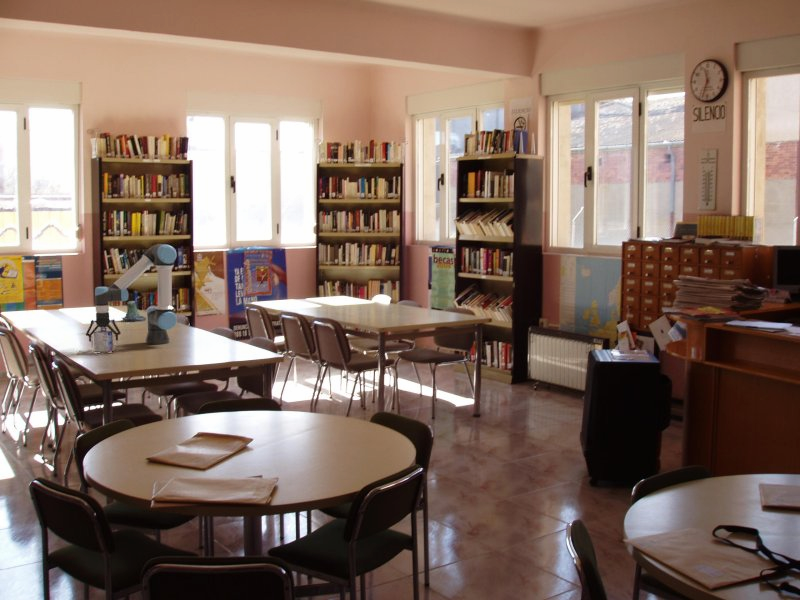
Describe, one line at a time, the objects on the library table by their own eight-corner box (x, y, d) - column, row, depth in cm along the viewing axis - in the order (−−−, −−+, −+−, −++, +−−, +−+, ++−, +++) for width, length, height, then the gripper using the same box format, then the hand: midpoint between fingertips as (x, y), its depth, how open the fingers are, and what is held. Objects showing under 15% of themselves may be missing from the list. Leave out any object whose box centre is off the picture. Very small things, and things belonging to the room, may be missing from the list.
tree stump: (152, 319, 675) (149, 298, 668) (138, 329, 657) (135, 307, 650) (131, 317, 680) (128, 296, 673) (117, 327, 662) (114, 305, 655)
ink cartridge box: (113, 350, 526) (112, 327, 525) (109, 352, 521) (107, 328, 519) (99, 350, 528) (97, 327, 527) (94, 351, 523) (92, 328, 521)
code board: (113, 349, 532) (113, 349, 532) (111, 353, 519) (111, 352, 519) (79, 351, 528) (79, 350, 527) (76, 354, 514) (76, 354, 514)
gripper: (124, 310, 528) (125, 344, 531) (81, 312, 522) (83, 346, 525) (123, 312, 521) (124, 346, 524) (80, 313, 515) (81, 348, 517)
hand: (103, 346), depth 524 cm, fingers open, 13 cm apart
